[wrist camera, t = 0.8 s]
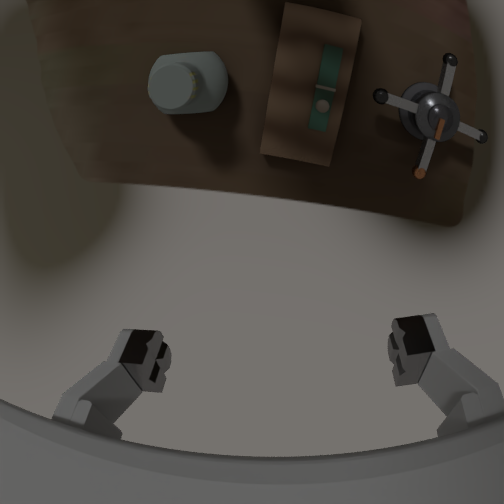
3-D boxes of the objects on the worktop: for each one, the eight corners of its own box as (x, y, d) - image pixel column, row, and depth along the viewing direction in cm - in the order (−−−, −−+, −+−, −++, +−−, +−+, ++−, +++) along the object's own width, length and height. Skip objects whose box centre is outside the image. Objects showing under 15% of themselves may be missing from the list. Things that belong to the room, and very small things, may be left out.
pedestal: (406, 73, 35) (408, 74, 34) (455, 94, 35) (458, 95, 34) (392, 129, 40) (394, 130, 39) (440, 146, 40) (443, 148, 39)
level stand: (285, 5, 32) (285, -1, 28) (357, 21, 32) (365, 18, 28) (260, 148, 44) (258, 157, 41) (327, 161, 44) (331, 171, 41)
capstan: (381, 28, 31) (392, 25, 27) (491, 79, 31) (508, 83, 27) (351, 155, 42) (359, 166, 38) (458, 187, 42) (471, 200, 38)
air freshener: (231, 51, 36) (217, 49, 28) (231, 106, 41) (218, 119, 33) (156, 57, 37) (125, 59, 29) (159, 109, 42) (130, 124, 34)
